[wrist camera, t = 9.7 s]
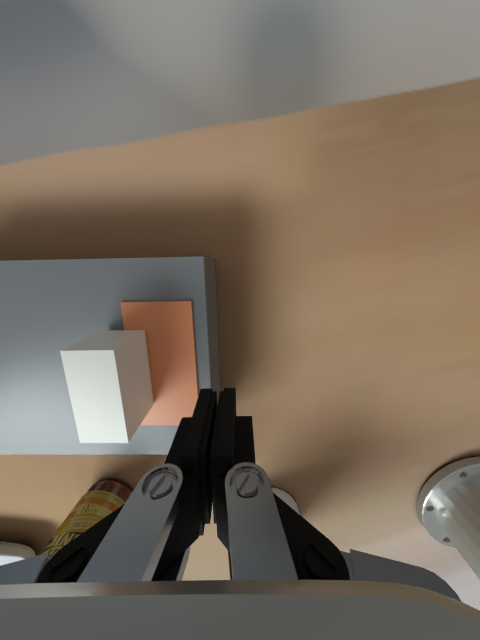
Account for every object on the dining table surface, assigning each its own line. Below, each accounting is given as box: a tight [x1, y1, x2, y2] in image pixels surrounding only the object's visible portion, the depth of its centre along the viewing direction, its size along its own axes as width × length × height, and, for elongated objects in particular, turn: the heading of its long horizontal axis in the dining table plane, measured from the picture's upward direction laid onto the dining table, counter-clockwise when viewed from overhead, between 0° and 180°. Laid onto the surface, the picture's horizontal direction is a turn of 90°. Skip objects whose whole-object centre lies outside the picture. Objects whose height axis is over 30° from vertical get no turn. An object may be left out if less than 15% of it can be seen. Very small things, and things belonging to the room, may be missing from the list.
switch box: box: [0, 256, 221, 455], centre depth 20 cm, size 24×16×6 cm, turn 91°
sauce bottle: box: [40, 480, 132, 557], centre depth 18 cm, size 7×6×20 cm
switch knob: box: [60, 330, 154, 443], centre depth 15 cm, size 3×6×4 cm, turn 1°
